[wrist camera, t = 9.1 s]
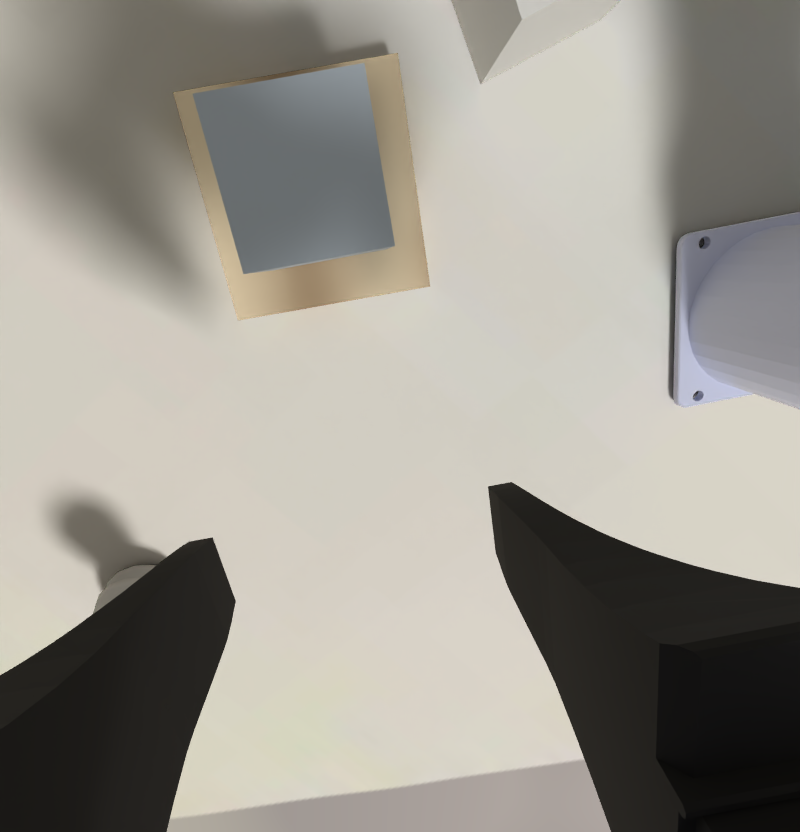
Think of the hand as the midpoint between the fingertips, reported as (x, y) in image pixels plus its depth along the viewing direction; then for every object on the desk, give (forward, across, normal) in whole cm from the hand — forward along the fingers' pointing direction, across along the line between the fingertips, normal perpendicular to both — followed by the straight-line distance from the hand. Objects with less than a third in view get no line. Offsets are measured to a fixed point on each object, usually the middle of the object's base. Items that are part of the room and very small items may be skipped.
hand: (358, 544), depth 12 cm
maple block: (+11, 0, -9) cm, 15 cm away
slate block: (+9, 0, -9) cm, 13 cm away
